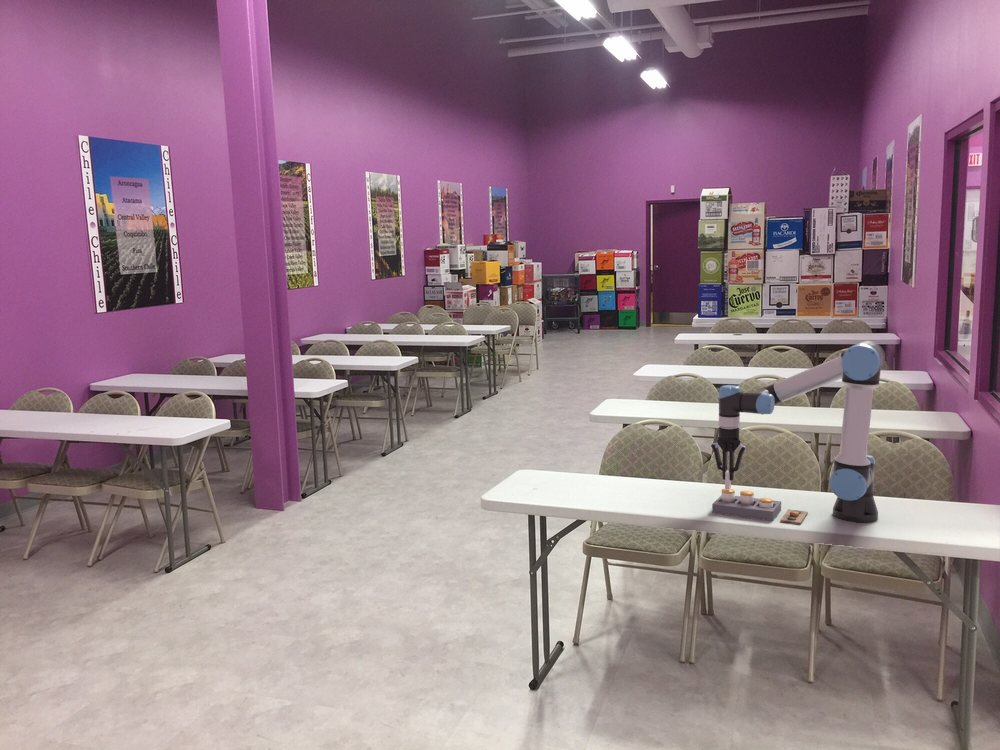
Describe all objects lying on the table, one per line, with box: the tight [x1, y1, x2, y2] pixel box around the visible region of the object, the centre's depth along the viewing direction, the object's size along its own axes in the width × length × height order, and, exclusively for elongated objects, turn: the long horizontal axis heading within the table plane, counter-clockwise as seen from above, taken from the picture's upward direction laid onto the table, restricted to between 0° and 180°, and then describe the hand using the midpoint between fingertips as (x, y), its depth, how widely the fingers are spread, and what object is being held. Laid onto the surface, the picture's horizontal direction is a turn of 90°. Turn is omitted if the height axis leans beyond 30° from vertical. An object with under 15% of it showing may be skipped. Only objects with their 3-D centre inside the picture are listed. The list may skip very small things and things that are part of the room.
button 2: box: [758, 497, 774, 508], centre depth 300 cm, size 5×5×4 cm
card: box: [779, 508, 809, 525], centre depth 296 cm, size 7×14×2 cm, turn 150°
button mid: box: [739, 490, 755, 506], centre depth 304 cm, size 5×5×4 cm
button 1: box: [720, 488, 736, 503], centre depth 307 cm, size 5×5×4 cm
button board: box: [711, 495, 782, 522], centre depth 304 cm, size 22×14×4 cm, turn 60°
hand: (727, 488), depth 307 cm, fingers closed
